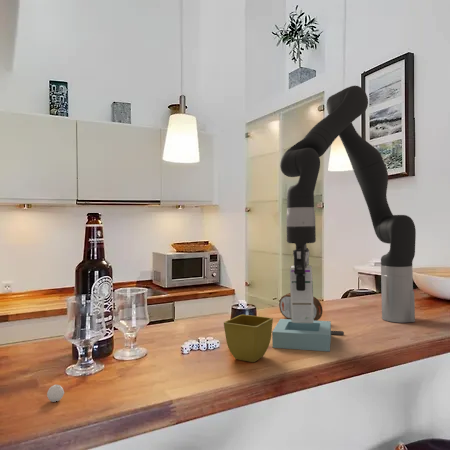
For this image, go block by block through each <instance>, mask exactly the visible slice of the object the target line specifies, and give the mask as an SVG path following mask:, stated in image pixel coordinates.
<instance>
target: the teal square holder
mask: <svg viewBox="0 0 450 450" xmlns="http://www.w3.org/2000/svg"><path fill="white" fill-rule="evenodd" d="M331 324H332V323H331V320H330V321H329V320H317V321H314V322H313V323H292V320H291V319H287V318H280V319H279V321H277V323H276V325H275V326H274V328H273V329H272V333H271V340H272V343H271V344H272V348H273V349H275V348H276V349H285V350H286V349H288V350H301V351H317V352H331V344H332V343H331V341H332V340H331V339H332V334H331V331H332V325H331Z"/></svg>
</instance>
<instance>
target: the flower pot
mask: <svg viewBox="0 0 450 450" xmlns="http://www.w3.org/2000/svg"><path fill="white" fill-rule="evenodd" d="M273 322H274V318H272V317H268V316H260V315H258V316H257V315H251V314H240V315H237V316H235V317H233V318H231V319H227V320H226V321H224V322H223V326H224V327H223V328H224V334H225V341H226V346H227V347H228V350H229V352H230V354H231V355H232V357H233V358H234V359H235V360H238V361H244V362H250V363H255V362H257V361H258V360H260V359H261V358H262V357H264V355H265V354H266V352H267V350H268V349H269V346H270V343H271V340H272V331H273Z"/></svg>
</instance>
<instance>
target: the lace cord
mask: <svg viewBox="0 0 450 450" xmlns="http://www.w3.org/2000/svg"><path fill="white" fill-rule="evenodd" d="M331 335H338V336H341V335H342V336H344V335H345V332H344V331H342V330H331Z"/></svg>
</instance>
